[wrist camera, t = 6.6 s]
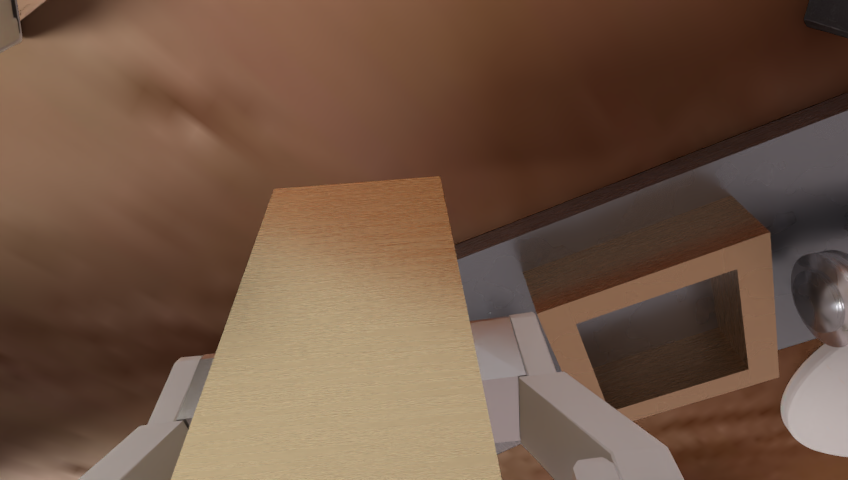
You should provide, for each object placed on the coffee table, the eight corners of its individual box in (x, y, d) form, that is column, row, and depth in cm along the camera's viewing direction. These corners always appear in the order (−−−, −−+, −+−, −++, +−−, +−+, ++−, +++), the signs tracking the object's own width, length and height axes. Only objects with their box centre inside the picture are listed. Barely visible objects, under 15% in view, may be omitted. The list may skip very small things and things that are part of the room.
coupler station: (378, 457, 30) (377, 518, 27) (258, 321, 24) (241, 383, 21) (1001, 260, 24) (1084, 312, 21) (1070, 5, 18) (1202, 31, 15)
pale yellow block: (445, 301, 15) (520, 794, 7) (303, 313, 15) (209, 828, 7) (440, 176, 13) (544, 687, 5) (273, 189, 13) (79, 734, 4)
